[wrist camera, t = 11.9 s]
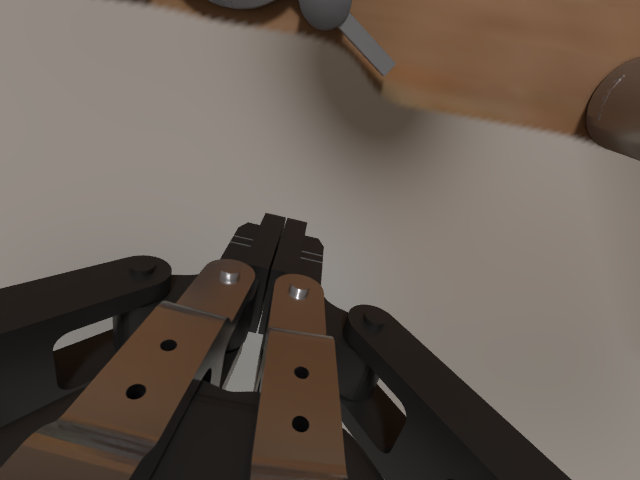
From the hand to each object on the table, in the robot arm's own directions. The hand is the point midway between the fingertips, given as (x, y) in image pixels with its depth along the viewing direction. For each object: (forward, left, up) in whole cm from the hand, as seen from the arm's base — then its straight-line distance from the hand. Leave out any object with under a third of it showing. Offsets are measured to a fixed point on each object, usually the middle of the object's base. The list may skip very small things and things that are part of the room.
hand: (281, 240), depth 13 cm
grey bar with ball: (-2, -8, -28) cm, 29 cm away
